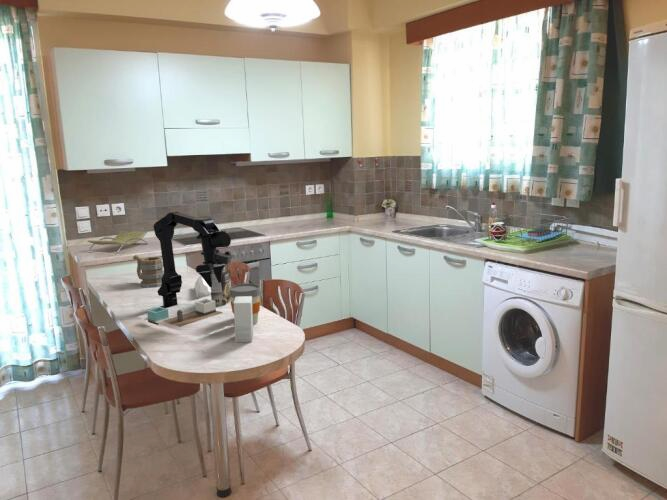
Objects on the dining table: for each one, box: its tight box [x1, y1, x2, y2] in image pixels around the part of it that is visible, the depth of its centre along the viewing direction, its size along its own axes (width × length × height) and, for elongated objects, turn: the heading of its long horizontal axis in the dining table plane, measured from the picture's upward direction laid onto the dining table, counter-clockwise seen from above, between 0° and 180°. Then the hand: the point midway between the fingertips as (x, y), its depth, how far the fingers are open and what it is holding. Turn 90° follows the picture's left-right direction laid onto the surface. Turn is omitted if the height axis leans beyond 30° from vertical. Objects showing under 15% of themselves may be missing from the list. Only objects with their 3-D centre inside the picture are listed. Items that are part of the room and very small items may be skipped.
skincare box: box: [233, 296, 254, 344], centre depth 198 cm, size 8×7×16 cm
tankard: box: [132, 254, 164, 289], centre depth 282 cm, size 20×13×15 cm, turn 58°
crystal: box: [194, 274, 211, 299], centre depth 263 cm, size 7×7×24 cm
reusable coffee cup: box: [230, 283, 262, 326], centre depth 216 cm, size 13×13×15 cm
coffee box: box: [210, 268, 232, 307], centre depth 240 cm, size 9×6×16 cm
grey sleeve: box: [194, 298, 217, 316], centre depth 226 cm, size 6×6×5 cm
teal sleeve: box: [146, 306, 170, 325], centre depth 221 cm, size 6×6×5 cm
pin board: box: [162, 302, 223, 327], centre depth 221 cm, size 12×22×6 cm, turn 142°
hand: (215, 284), depth 223 cm, fingers open, 9 cm apart
